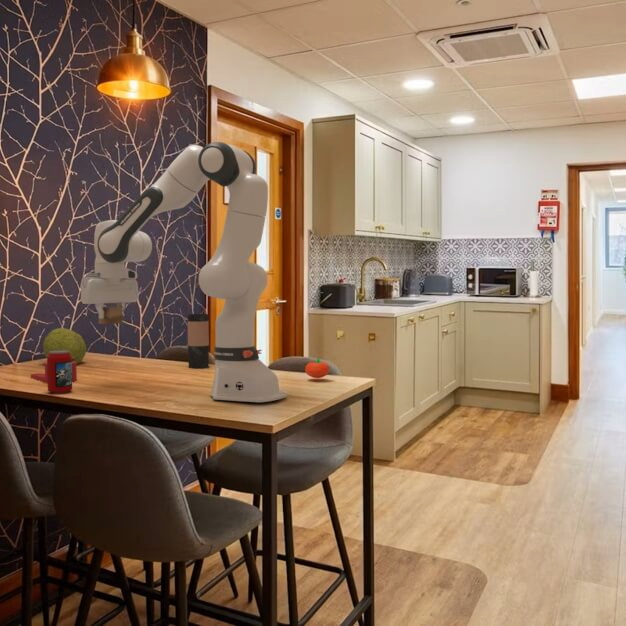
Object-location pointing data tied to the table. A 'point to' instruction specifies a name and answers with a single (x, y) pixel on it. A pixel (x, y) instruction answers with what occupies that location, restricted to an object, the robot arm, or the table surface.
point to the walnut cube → (112, 315)
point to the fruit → (65, 343)
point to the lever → (44, 376)
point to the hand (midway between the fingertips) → (110, 318)
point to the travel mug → (198, 341)
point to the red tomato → (317, 369)
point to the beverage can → (59, 371)
